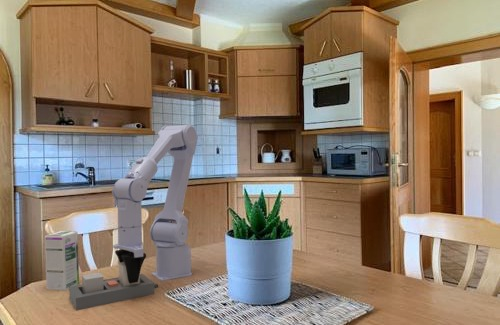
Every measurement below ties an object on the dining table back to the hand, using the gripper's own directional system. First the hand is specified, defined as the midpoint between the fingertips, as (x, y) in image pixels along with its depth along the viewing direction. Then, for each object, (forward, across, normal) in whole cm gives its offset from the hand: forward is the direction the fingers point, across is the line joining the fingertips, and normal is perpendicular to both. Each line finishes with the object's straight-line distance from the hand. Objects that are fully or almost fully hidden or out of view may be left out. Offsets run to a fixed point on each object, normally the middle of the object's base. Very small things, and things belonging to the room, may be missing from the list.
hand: (130, 279), depth 97 cm
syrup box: (+4, -15, -14) cm, 20 cm away
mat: (+3, -10, -2) cm, 11 cm away
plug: (+2, 0, 0) cm, 2 cm away
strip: (+3, 0, -3) cm, 5 cm away
